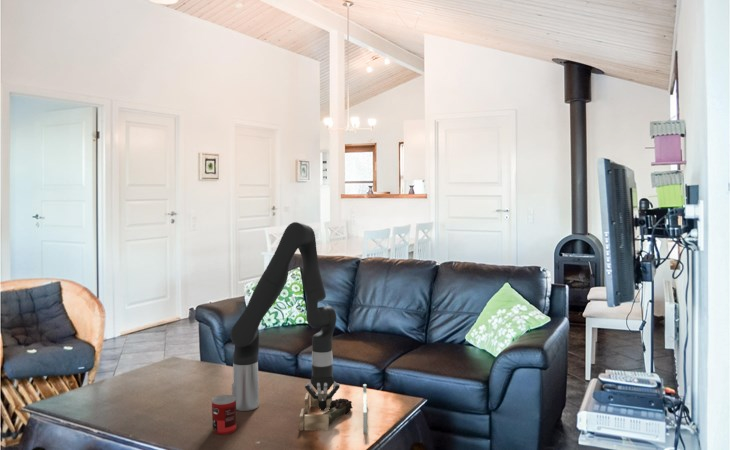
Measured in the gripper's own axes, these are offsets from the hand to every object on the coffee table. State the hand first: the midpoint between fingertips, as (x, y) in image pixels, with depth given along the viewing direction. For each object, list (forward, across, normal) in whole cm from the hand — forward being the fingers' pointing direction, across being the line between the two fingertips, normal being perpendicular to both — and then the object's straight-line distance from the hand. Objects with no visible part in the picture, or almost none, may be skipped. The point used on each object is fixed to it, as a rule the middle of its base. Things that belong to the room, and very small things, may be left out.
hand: (322, 409), depth 197 cm
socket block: (+3, -2, 0) cm, 3 cm away
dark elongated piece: (+3, +4, -1) cm, 5 cm away
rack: (+2, +15, 0) cm, 15 cm away
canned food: (+3, -33, -10) cm, 34 cm away
